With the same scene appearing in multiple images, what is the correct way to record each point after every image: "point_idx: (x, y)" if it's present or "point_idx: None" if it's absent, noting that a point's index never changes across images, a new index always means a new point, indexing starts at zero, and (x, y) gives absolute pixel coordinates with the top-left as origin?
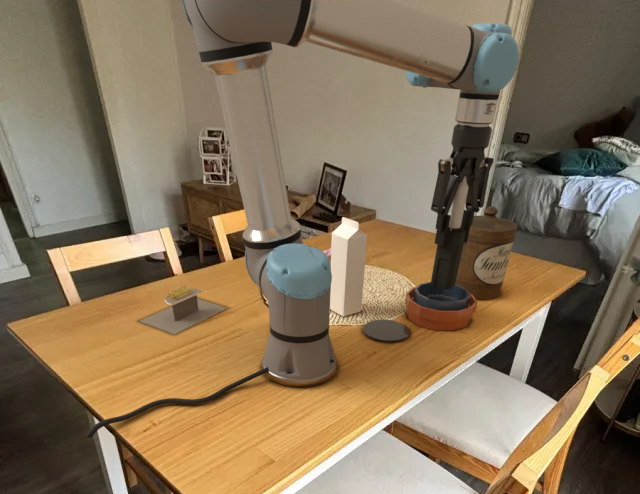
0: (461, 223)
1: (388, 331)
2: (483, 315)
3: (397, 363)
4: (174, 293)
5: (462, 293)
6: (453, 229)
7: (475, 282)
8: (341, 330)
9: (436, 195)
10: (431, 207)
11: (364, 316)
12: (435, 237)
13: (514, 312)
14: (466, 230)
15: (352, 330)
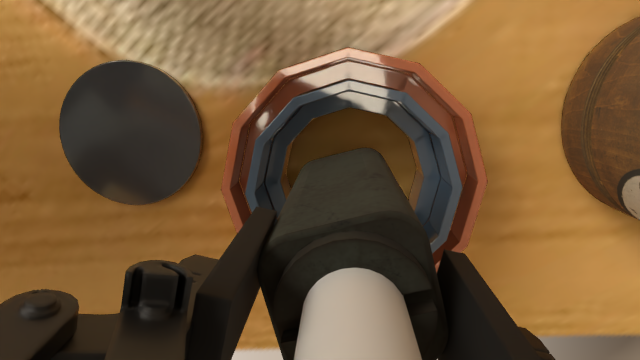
0: (469, 319)
1: (126, 147)
2: (471, 262)
3: (36, 268)
4: None
5: (436, 222)
6: (286, 353)
7: (605, 180)
8: (26, 34)
9: None
10: (1, 309)
11: (154, 6)
12: (249, 217)
13: (569, 314)
14: (439, 358)
15: (55, 57)
